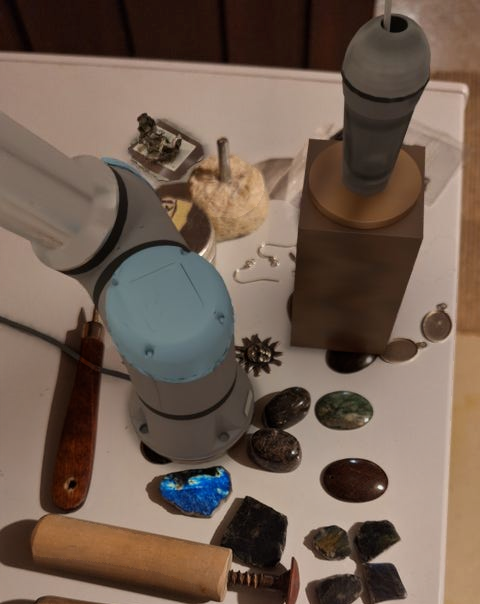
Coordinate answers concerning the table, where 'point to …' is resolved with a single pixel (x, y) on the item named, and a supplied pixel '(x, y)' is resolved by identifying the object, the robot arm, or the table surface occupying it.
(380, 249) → the walnut stand
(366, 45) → the beverage cup
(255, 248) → the table surface
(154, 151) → the figurine on square base
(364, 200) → the cork coaster
